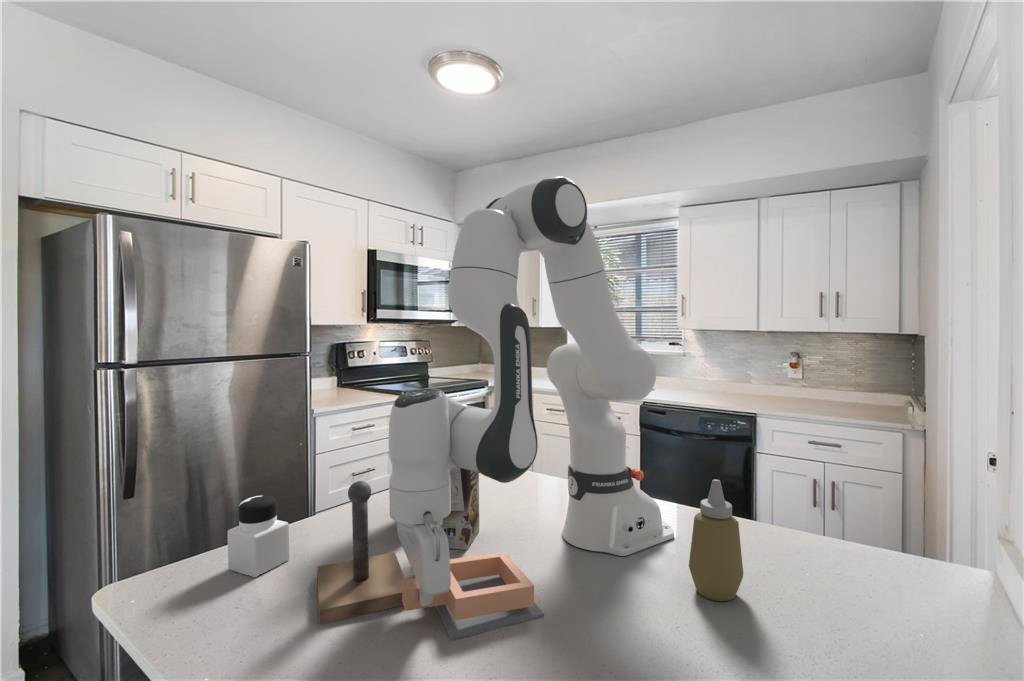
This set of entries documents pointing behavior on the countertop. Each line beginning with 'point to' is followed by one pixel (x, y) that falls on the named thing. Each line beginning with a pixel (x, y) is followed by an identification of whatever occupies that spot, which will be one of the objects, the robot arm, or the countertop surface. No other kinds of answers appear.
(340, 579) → the stand
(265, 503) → the medicine bottle
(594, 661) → the countertop surface
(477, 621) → the mat
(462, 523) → the coffee box
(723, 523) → the squeeze bottle
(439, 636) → the countertop surface
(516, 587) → the frame
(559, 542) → the countertop surface
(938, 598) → the countertop surface
